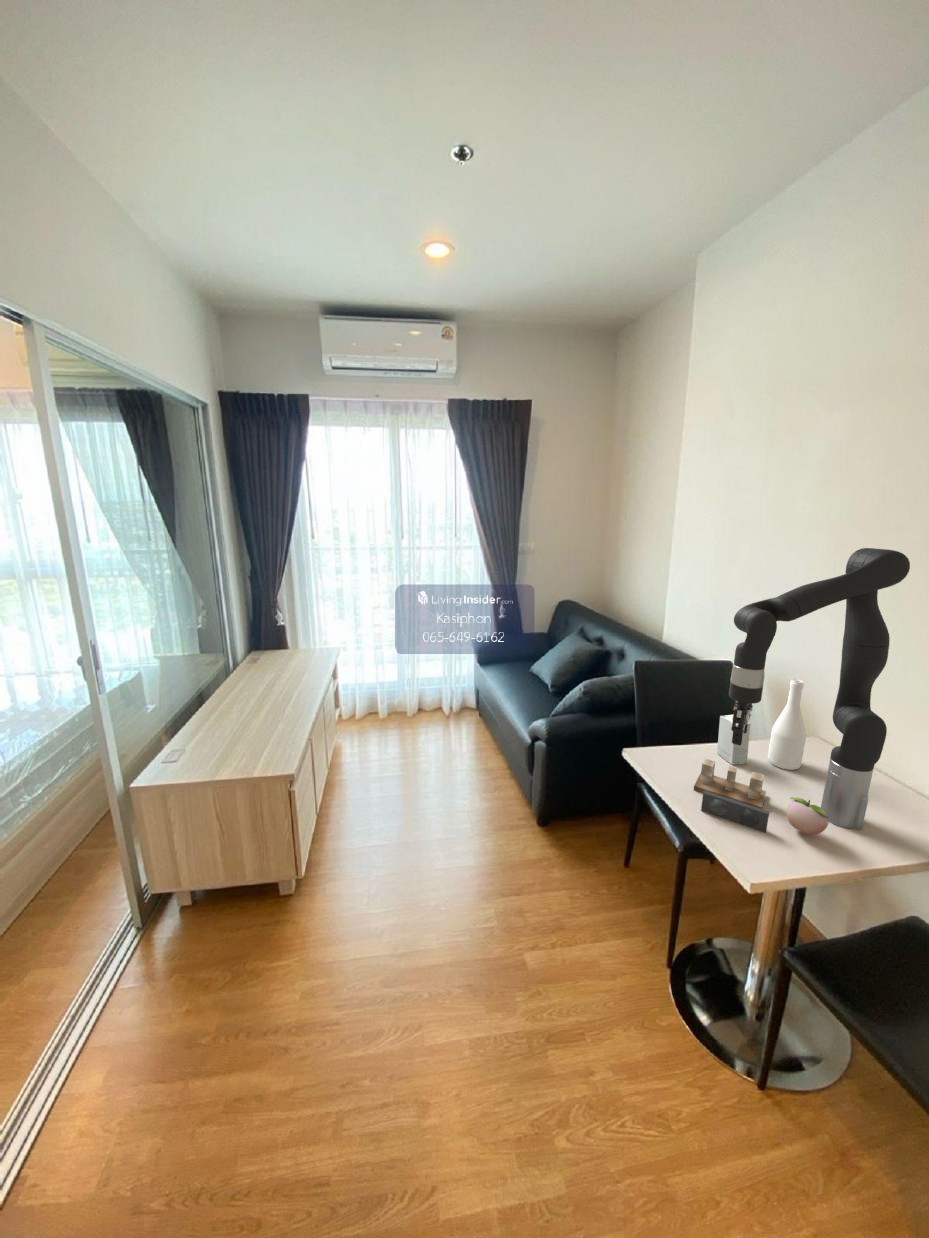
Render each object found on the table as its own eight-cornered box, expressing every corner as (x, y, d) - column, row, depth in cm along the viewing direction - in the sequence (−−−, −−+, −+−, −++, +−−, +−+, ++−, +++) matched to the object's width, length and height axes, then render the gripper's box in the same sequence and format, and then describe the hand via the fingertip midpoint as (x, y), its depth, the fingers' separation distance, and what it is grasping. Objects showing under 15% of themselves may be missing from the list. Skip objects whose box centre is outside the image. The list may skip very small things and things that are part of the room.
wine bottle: (761, 760, 163) (774, 678, 156) (777, 753, 167) (790, 674, 160) (790, 773, 155) (805, 688, 148) (806, 766, 159) (821, 682, 152)
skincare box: (747, 764, 161) (752, 724, 157) (730, 765, 160) (736, 725, 157) (730, 751, 169) (735, 713, 165) (714, 753, 168) (719, 714, 165)
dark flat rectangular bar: (766, 830, 128) (769, 811, 127) (765, 833, 127) (768, 814, 126) (702, 808, 138) (704, 790, 136) (700, 811, 136) (703, 792, 135)
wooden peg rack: (765, 795, 143) (769, 771, 142) (761, 811, 136) (765, 787, 134) (700, 775, 154) (703, 753, 152) (693, 790, 146) (696, 766, 144)
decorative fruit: (777, 830, 128) (782, 797, 126) (789, 818, 133) (794, 786, 130) (818, 849, 121) (825, 815, 118) (829, 836, 125) (835, 803, 123)
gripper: (759, 693, 117) (751, 752, 121) (766, 677, 128) (759, 732, 132) (725, 686, 122) (718, 744, 125) (735, 671, 132) (728, 724, 136)
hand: (739, 737), depth 128 cm, fingers open, 8 cm apart
